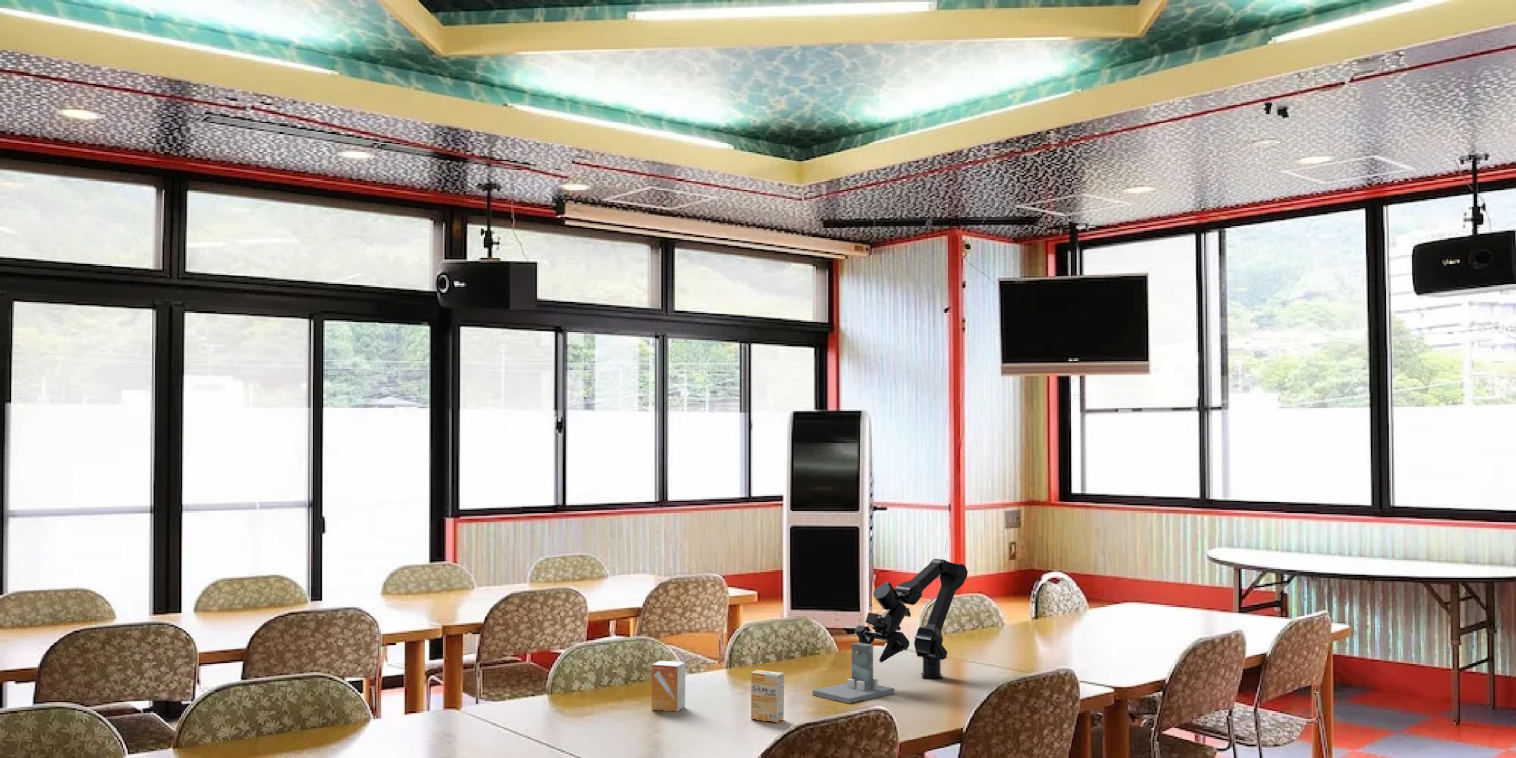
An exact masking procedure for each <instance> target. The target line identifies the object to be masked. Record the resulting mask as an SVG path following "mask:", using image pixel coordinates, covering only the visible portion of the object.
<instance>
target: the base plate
mask: <svg viewBox="0 0 1516 758" xmlns="http://www.w3.org/2000/svg"><path fill="white" fill-rule="evenodd" d="M894 694H895V688H894V687H889V686H884V685H880V684H879V679H878V678H875V677H873V688H872V689H867V690H866V689H865V682H863V681H857V687H855V680H853V679H852V678H847V679H846V682H844V683H840V684H836V685H831V686H827V687H820V688H816V689H812V696H814V695H816V696H815V697H819V698H822V697H825V698H824V699H827V698H828V699H827V700H831V701H835V700H837V702H839V701H841V702H840V703H843V702H847V703H846V704H848V703H850V702H855V703H858V702H857V701H859V702H861V701H860V700H863V701H866V700H872V699H876V698H881V697H885V696H889V695H894ZM850 704H851V703H850Z"/></svg>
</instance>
